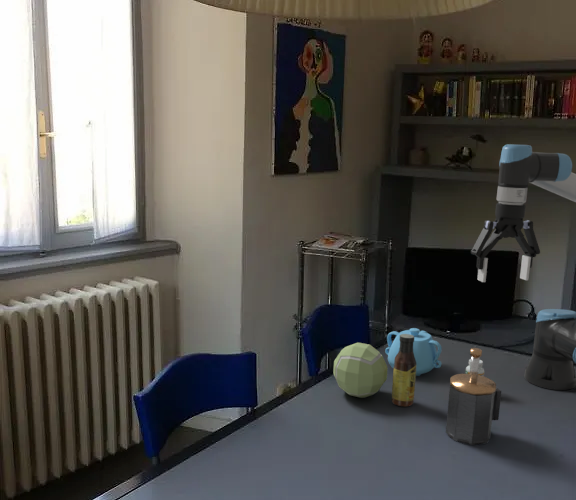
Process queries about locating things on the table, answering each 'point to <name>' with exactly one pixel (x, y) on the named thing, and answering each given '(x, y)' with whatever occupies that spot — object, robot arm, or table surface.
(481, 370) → the supplement bottle
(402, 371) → the sauce bottle
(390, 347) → the decorative pot
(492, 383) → the plunger
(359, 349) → the decorative sphere
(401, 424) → the table surface
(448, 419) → the press body
